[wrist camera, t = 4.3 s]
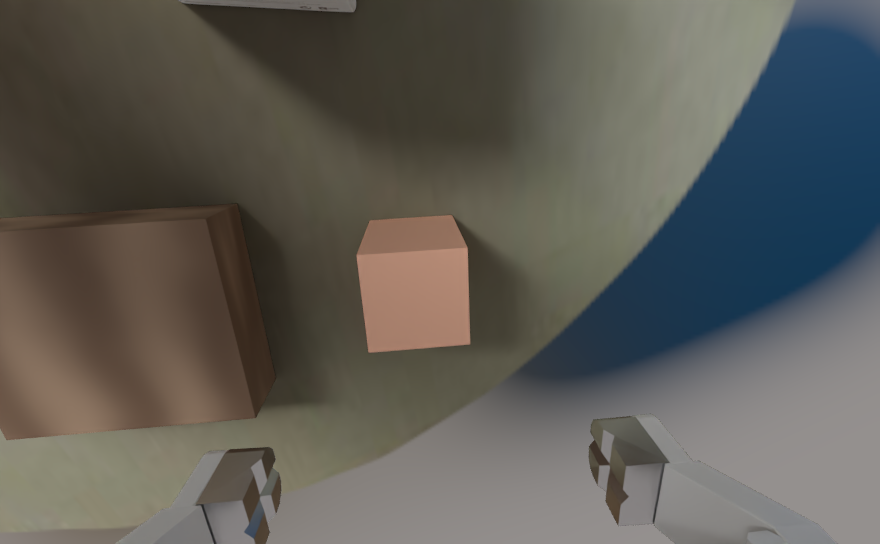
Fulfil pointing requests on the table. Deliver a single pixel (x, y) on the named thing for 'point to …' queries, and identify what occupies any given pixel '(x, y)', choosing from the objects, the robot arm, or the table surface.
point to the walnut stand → (128, 321)
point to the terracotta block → (414, 283)
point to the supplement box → (285, 4)
